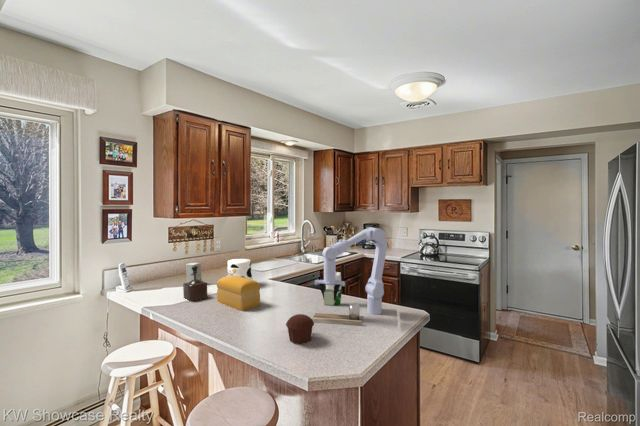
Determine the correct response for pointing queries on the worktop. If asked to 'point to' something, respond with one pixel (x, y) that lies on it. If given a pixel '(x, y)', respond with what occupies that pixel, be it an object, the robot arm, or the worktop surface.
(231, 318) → the worktop surface
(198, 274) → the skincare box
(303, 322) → the muffin
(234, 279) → the bread
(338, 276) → the milk carton
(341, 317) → the shelf board
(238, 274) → the milk container
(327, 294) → the tea box
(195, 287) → the pepper mill
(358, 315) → the metal can
